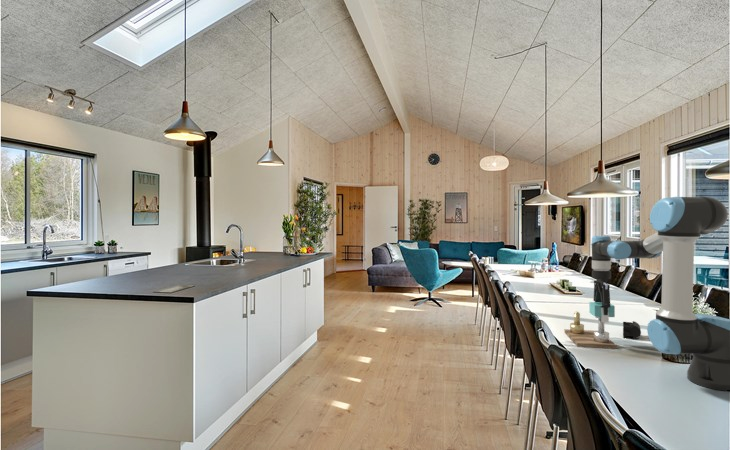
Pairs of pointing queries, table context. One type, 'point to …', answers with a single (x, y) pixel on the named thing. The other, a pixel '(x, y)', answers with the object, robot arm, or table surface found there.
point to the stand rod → (601, 333)
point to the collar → (596, 309)
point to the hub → (576, 325)
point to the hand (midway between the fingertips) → (601, 319)
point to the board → (588, 340)
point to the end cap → (631, 330)
